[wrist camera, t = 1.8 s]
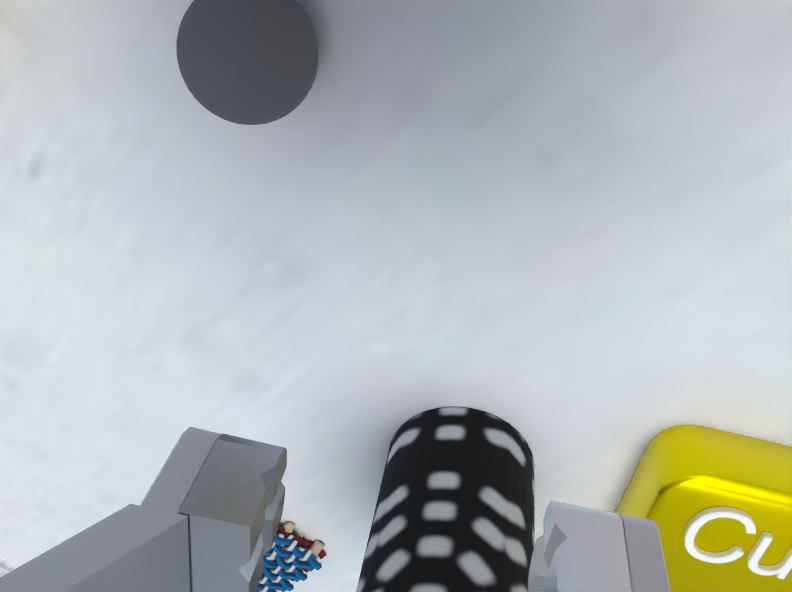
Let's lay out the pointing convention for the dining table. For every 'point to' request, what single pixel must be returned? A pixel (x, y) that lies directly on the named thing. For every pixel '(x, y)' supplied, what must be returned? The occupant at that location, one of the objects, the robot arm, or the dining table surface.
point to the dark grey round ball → (247, 57)
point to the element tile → (717, 509)
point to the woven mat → (288, 560)
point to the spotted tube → (453, 507)
